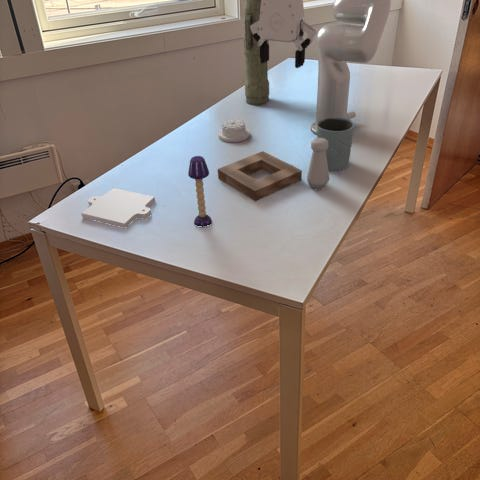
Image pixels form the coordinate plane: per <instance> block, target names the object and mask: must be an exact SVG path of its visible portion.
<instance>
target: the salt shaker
mask: <svg viewBox="0 0 480 480" xmlns="http://www.w3.org/2000/svg"><path fill="white" fill-rule="evenodd" d="M310 149H311V150H312V152H311V158H310V161H309V167H308V169H307V173H306V174H307V175H306V180H307V181H306V182H307V184H308V185H309V187H310V189H311V188H312V189H311V190H315V189H317V190H316V191H319V189H320V190H324V189H325V188H326V186H327V184H328V183H329V181H330V171H328V164H327V156H326V150H327V149H328V141H327V140H326V139H324V138H317V137H316V138H313V139H312V140H311V142H310ZM323 188H324V189H323Z"/></svg>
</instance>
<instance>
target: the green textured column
mask: <svg viewBox="0 0 480 480" xmlns="http://www.w3.org/2000/svg"><path fill="white" fill-rule="evenodd" d="M261 2H262V0H245V1H244V5H243V24H244V31H243V35H242V44H243V47H242V48H243V54H244V58H245V59H244V60H245V65H244V66H245V82H244V96H245V103H246V104H248V105H250V106H263V105H266V104H268V103H269V102H270V99H269V97H270V82H269V81H270V80H269V79H268V72H269V71H268V68H269V67H268V61H267V62H265V63H261V60H260V46H258V44H257V41H256V40H255V39H254V37H253V33H252V31H251V29H250V26H251V25H252V24H254V23H256V22H257V21H259V20H260V9H261ZM258 30H259V28H258ZM267 44H269V41H268V42H267Z"/></svg>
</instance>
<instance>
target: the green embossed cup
mask: <svg viewBox="0 0 480 480" xmlns="http://www.w3.org/2000/svg"><path fill="white" fill-rule="evenodd" d="M355 126H356V125H355V122H354V121H353V120H352V119H350V120H349V119H346V118H341V117H330V118H324V119H321V120H320V121H318V123H317V134H316V135H317V136H316V138H324V139H326V140H327V141H328V149H327V150H326V156H327V164H328V171H329V172H341V171H340V170H342V171H344V170H346V169H348V167H349V163H350V157H351V151H352V146H353V145H352V144H353V138H354V133H355ZM343 169H344V170H343Z"/></svg>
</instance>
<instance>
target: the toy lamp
mask: <svg viewBox="0 0 480 480" xmlns="http://www.w3.org/2000/svg"><path fill="white" fill-rule="evenodd" d="M187 174H188V175H187V176H188V177H189V178H190V179H192V180H195V187H196V189H195V192H196V198H197V210H198V215H197V216H195V218H194V221H193V223H194V226H195V225H197V226H202V227H201V228H204V227H203V226H207V225H209V226H211V225H212V224H213V220H212V218H211V216H210V215H209V214H207V211H206V208H207V207H206V205H205V204H206V200H205V189H204V182H203V181H204V179H205V178H207V177H208V176H210V175H209V174H210V170H209V167H208V165H207V162H206V159H205V158H204V157H203V156H201V155H195V156H192V157H191V158H190V159H189V166H188V172H187ZM210 224H211V225H210ZM197 226H196V227H197ZM207 227H208V226H207Z"/></svg>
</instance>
